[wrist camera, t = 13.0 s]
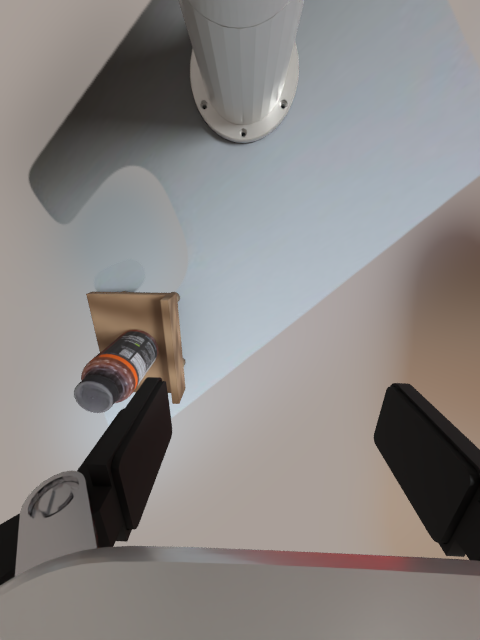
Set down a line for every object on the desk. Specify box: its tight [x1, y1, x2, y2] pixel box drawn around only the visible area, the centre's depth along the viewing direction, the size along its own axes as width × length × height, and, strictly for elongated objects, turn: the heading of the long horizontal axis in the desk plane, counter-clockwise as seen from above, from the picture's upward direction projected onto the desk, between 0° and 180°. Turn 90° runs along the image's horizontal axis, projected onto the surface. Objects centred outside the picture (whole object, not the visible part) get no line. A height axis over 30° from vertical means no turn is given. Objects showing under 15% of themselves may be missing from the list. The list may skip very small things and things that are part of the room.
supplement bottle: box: [74, 330, 158, 413], centre depth 29 cm, size 6×6×11 cm
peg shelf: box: [86, 291, 185, 404], centre depth 36 cm, size 16×12×9 cm
